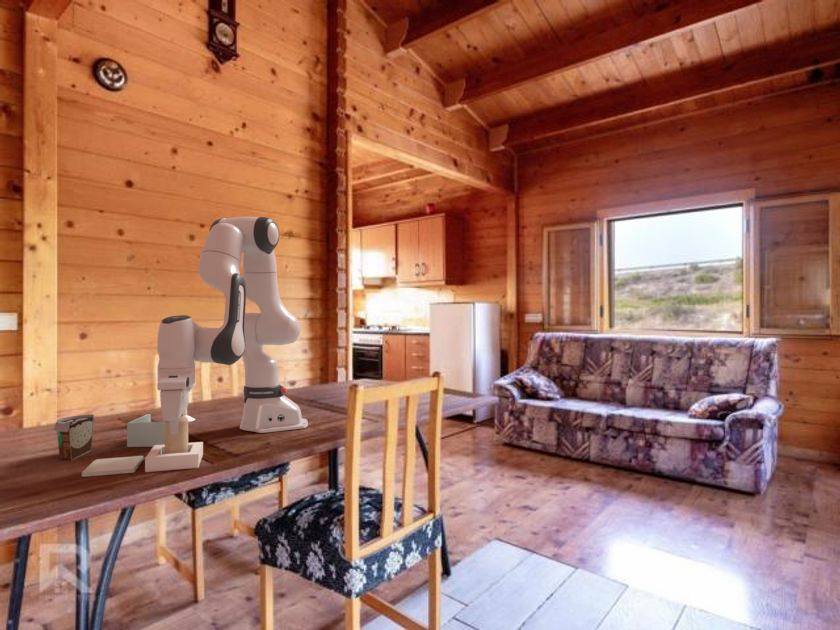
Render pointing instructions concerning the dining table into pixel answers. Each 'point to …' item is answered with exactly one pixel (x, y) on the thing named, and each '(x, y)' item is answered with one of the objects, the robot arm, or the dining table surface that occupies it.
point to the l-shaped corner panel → (145, 432)
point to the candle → (177, 437)
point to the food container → (74, 436)
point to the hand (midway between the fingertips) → (176, 430)
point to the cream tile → (113, 466)
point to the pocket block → (173, 458)
